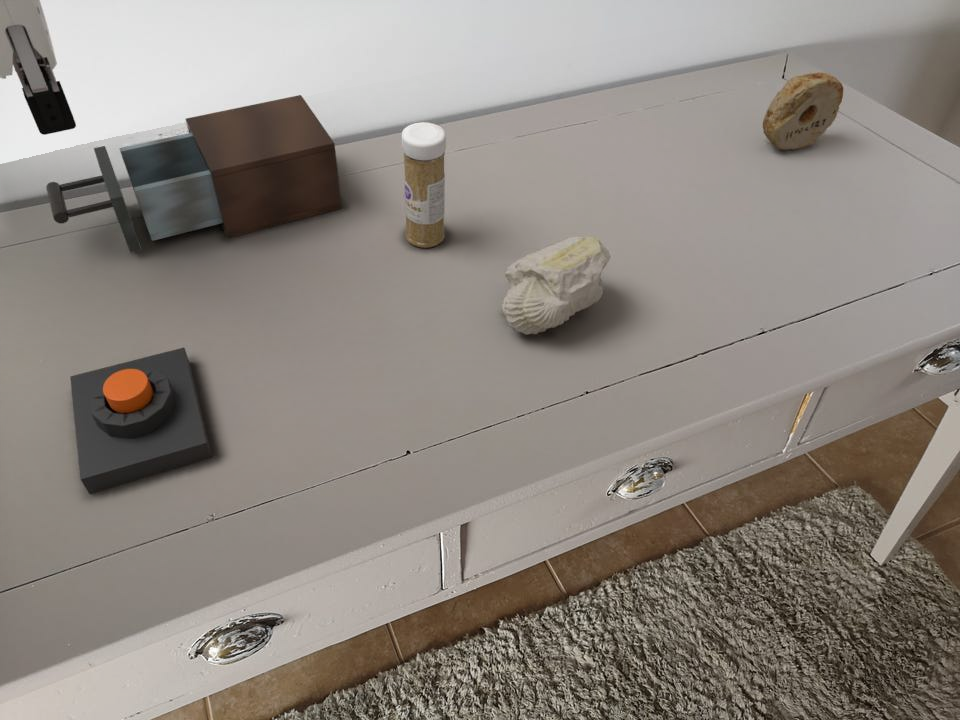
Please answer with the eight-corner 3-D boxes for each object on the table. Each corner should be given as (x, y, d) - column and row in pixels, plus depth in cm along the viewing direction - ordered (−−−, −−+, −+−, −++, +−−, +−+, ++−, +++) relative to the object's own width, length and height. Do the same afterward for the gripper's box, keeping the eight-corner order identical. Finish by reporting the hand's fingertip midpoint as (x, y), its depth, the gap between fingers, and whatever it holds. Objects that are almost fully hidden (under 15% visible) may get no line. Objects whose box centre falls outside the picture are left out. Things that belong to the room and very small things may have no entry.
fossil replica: (480, 332, 79) (572, 368, 77) (487, 276, 72) (588, 314, 71) (523, 256, 86) (608, 288, 84) (534, 199, 79) (626, 232, 78)
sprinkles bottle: (397, 235, 89) (391, 130, 79) (427, 220, 91) (426, 115, 81) (423, 255, 87) (420, 149, 77) (453, 238, 89) (455, 133, 79)
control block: (78, 391, 72) (62, 362, 69) (189, 363, 75) (179, 333, 72) (89, 494, 64) (72, 466, 61) (212, 458, 67) (202, 429, 64)
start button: (107, 388, 67) (100, 375, 66) (150, 377, 68) (144, 363, 67) (111, 418, 65) (104, 405, 64) (155, 406, 66) (150, 393, 65)
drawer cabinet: (227, 238, 88) (210, 171, 81) (202, 184, 94) (185, 118, 88) (342, 208, 92) (334, 142, 86) (310, 158, 99) (300, 94, 93)
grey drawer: (73, 267, 82) (48, 213, 77) (59, 213, 88) (36, 160, 83) (244, 223, 88) (232, 170, 83) (221, 175, 94) (208, 123, 89)
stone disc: (811, 131, 108) (838, 62, 101) (829, 144, 106) (857, 75, 98) (749, 143, 105) (772, 73, 98) (765, 158, 103) (790, 87, 96)
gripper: (-87, -109, 63) (6, 100, 77) (-79, -45, 55) (25, 178, 68) (12, -119, 66) (86, 84, 79) (36, -60, 57) (114, 157, 71)
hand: (57, 127), depth 74 cm, fingers closed
